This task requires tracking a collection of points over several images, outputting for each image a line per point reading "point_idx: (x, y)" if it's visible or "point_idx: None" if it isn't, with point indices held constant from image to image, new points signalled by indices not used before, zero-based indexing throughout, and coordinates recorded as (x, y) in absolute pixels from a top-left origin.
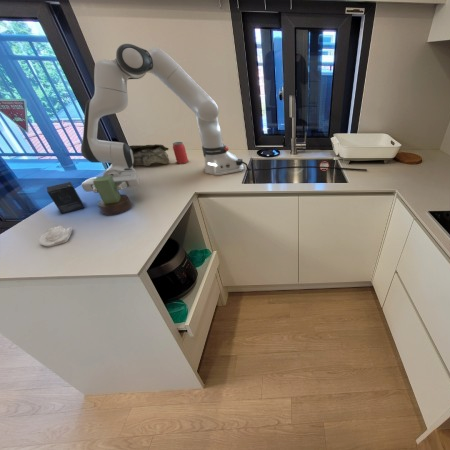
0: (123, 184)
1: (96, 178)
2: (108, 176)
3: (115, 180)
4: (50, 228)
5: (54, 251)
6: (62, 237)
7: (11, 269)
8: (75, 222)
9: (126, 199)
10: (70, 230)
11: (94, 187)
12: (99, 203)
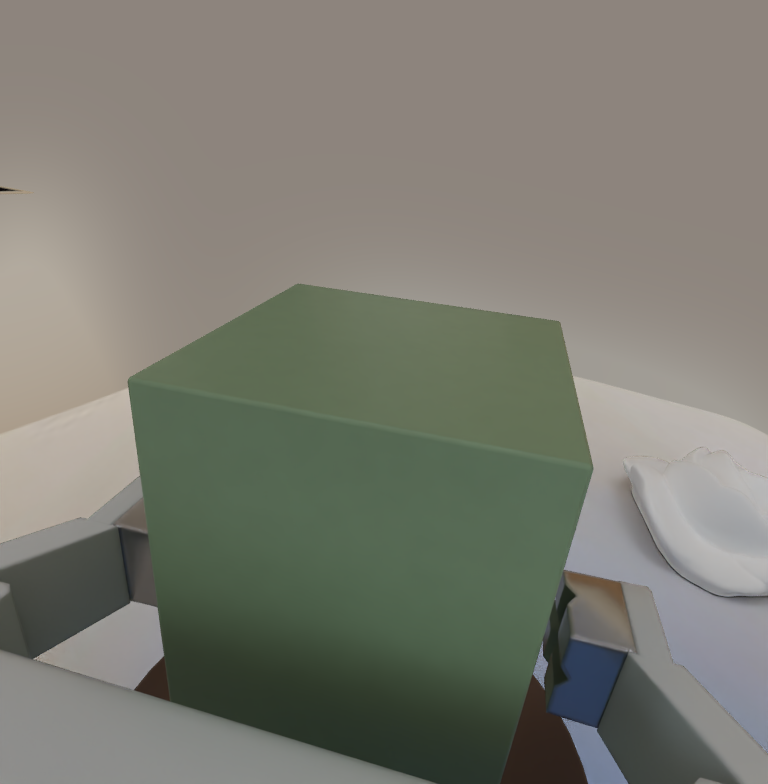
0: (26, 556)
1: (552, 387)
2: (232, 361)
3: (53, 690)
4: (763, 476)
5: (642, 450)
6: (646, 460)
7: (746, 431)
8: (765, 728)
9: (166, 676)
10: (637, 487)
11: (662, 669)
12: (556, 764)
